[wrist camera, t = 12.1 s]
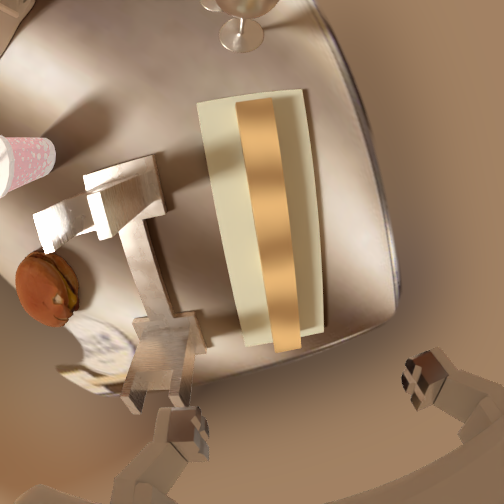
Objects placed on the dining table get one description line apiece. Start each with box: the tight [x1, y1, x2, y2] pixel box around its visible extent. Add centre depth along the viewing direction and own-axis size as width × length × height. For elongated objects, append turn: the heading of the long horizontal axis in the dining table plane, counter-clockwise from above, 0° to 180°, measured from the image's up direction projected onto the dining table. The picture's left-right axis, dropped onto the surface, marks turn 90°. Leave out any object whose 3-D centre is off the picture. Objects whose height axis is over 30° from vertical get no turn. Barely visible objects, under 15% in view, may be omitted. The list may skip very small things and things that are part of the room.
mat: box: [196, 89, 324, 347], centre depth 29 cm, size 28×10×1 cm, turn 9°
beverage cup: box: [0, 135, 56, 198], centre depth 17 cm, size 6×6×14 cm
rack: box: [33, 155, 207, 414], centre depth 24 cm, size 24×8×12 cm, turn 9°
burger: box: [16, 251, 79, 327], centre depth 27 cm, size 10×9×5 cm
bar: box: [235, 98, 301, 353], centre depth 27 cm, size 26×3×3 cm, turn 9°
